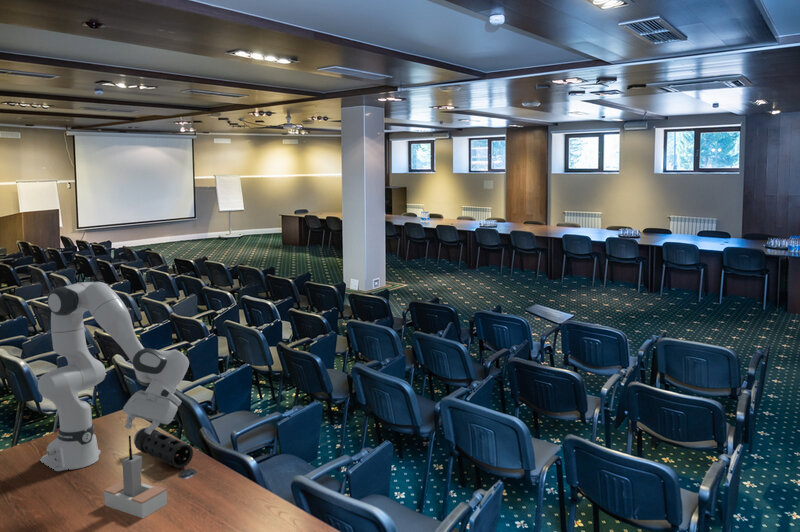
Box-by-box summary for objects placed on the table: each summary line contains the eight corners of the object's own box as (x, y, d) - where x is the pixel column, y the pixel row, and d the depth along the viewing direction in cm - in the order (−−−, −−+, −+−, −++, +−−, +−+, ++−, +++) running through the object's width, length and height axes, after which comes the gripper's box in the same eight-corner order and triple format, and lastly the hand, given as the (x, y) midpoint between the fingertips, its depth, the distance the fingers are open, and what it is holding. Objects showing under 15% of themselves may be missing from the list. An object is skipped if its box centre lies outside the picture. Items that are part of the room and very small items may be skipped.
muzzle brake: (172, 474, 230) (171, 448, 229) (132, 454, 247) (131, 430, 246) (194, 465, 238) (193, 440, 236) (154, 447, 255) (153, 423, 253)
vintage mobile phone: (144, 502, 210) (140, 432, 206) (133, 510, 205) (129, 438, 202) (135, 501, 211) (131, 431, 208) (124, 508, 206) (120, 436, 203)
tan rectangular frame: (105, 505, 208) (104, 489, 207) (129, 492, 217) (128, 477, 216) (143, 518, 200) (142, 502, 199) (167, 504, 209) (166, 488, 208)
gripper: (132, 385, 216) (109, 421, 209) (174, 394, 207) (152, 432, 200) (143, 393, 221) (121, 429, 214) (185, 402, 212) (164, 440, 205)
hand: (137, 430), depth 207 cm, fingers open, 8 cm apart
